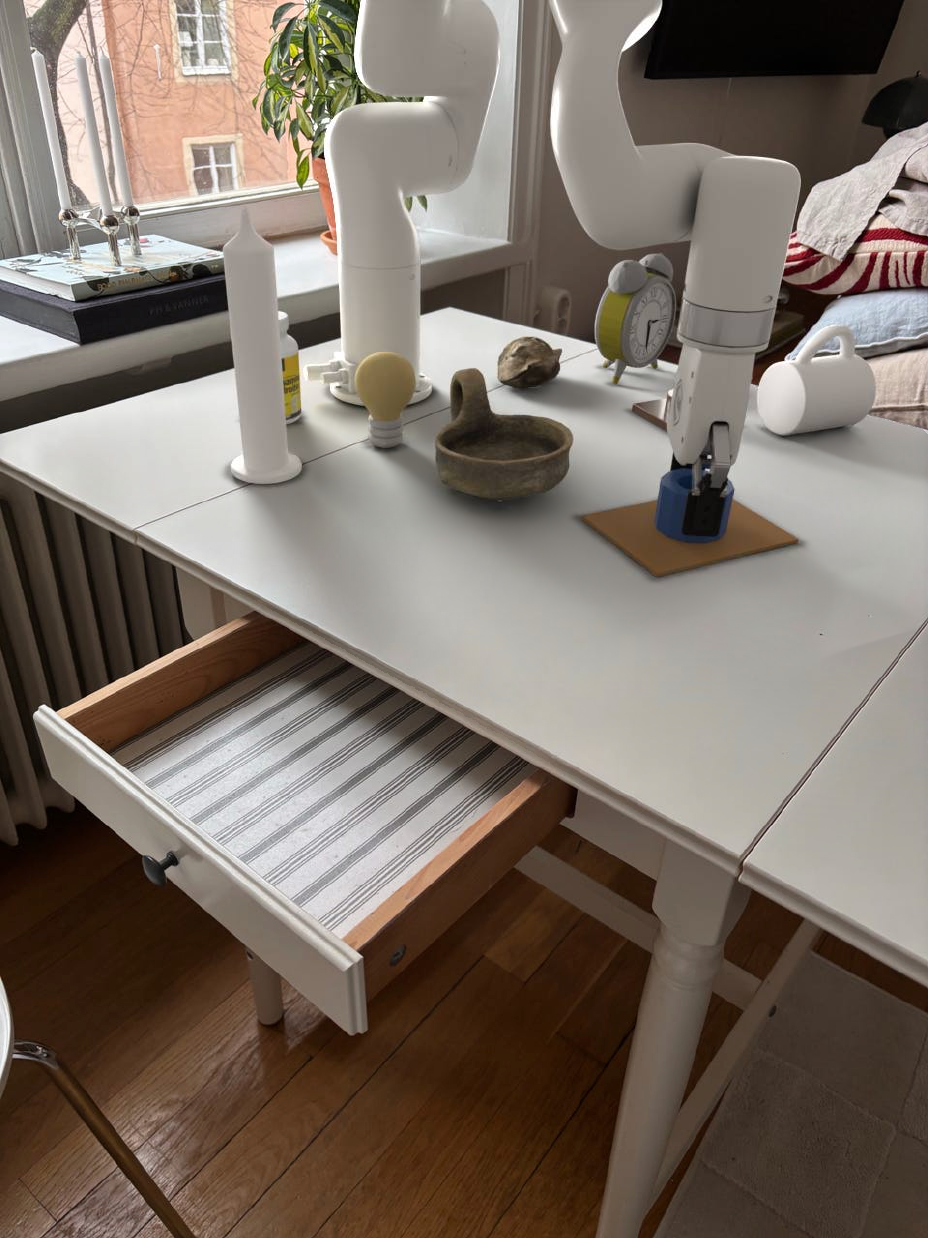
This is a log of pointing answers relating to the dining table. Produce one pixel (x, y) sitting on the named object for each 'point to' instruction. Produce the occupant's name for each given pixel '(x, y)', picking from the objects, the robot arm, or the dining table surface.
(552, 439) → the bowl
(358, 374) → the light bulb
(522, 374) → the fossilized seashell
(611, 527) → the mat
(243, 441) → the candle
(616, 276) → the alarm clock
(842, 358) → the mug
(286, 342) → the pill bottle
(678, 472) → the blue hollow cylinder
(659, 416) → the dowel stand
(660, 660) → the dining table surface
